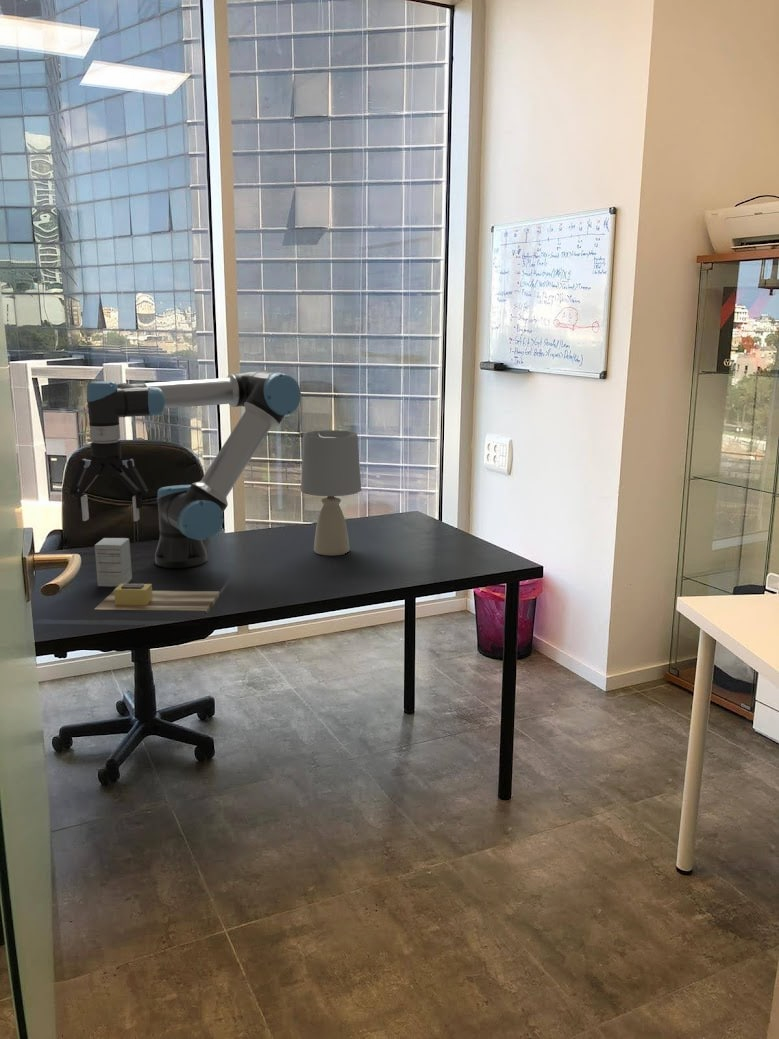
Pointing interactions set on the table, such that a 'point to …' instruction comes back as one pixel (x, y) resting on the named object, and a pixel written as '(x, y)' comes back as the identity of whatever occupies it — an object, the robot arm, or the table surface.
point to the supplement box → (113, 561)
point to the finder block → (133, 594)
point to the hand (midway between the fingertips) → (111, 520)
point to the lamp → (330, 483)
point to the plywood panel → (168, 601)
